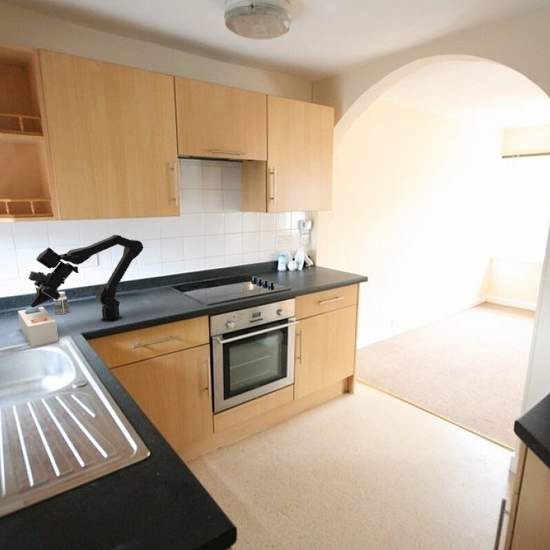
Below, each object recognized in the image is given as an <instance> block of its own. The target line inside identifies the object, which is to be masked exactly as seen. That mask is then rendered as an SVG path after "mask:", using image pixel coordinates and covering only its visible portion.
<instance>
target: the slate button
mask: <svg viewBox="0 0 550 550" xmlns="http://www.w3.org/2000/svg"><path fill="white" fill-rule="evenodd" d="M38 307H39V305H37V306H35V307H31V306H28V307H26V308H25V310H26V313H27V314H31V313H37V312H39V308H38Z"/></svg>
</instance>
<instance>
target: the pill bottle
mask: <svg viewBox="0 0 550 550" xmlns="http://www.w3.org/2000/svg"><path fill="white" fill-rule="evenodd" d="M58 292H59V293H60V297H59V298H58V300H56V299H54V298H53V305H54V311H55V312H54V313H55V314H56V315H64V313H65V314H67V313H69V312H70V310H69V302H68V297H67V296H66V292H65V291H58Z"/></svg>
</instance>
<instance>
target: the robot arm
mask: <svg viewBox="0 0 550 550" xmlns="http://www.w3.org/2000/svg"><path fill="white" fill-rule="evenodd" d="M117 245H119V246H121V247H124V248H123V254H122V257H121V258H120V260H119V262H118V263H117V265H116V267H115V268H114V270H113V272H112V274H111V275H110V277H109V278H108V280H107V282H106V283H105V284H104V285H103V284H99V286H98V289H97V290H96V291H95V293H96V294H95V299H96V301H97V302H99V303H100V304H101V313H102V314H101V315H102V318H101V321H104V322H105V321H107V322H115V321H117V320H118V319H121V318H122V317H123V315H120V303H121V302H120V301H119V300H118V299H116V297H115V296H116V293H117V288H118V286H119V284H120V282H121V281H122V279H123V278H124V275H125V274H126V271H127V270H128V268H129V267H130V265H131V263H132V262H133V260H135V259H136V258H137V257H138V256H139V255H140V254H141V252H142V251H143V249H144V244H143V243H142V241H140V240H137V239H129V238H126V237H124V236H121V235H120V234H119V235H118V234H113V235H111V236H109V237H107V238H105V239H102V240H99V241H97V242H95V243H92V244H90V245H87V246H84V247H78V248H74V249H73V248H72V249H69V250H68V251H67V252H66V253H62V254H58V253H57V252H55V251H54V250H53V249H52V248H51V247H47V248H46V249H45V250H43V251H41V252H40V253H39V255H38V256H37V257H36V259H35V261H36V262H38V263H40V264H41V265H43V266H44V267H46V268H47V269H53V271H51V272H48V273H44V272H41V271H38V272H37V271H30V273H29V275H28V280H29V281H31V282H34V283H33V285H34V286H35V292H36V293H35V296H34V298H33V300H32V302H31V303H30V307H35V306H40V305H41V304H43V303H45V302H47V301H49V300H52V299H53V300H54V299H56V300H58V298H59V297H60V293H59V292H60V291H59V290H58V289H59V288H60V287H61V286H62V285H65V283H66V282H65V281H66V279H68V277H69V276H70V275H72V273H73V272H74V273H75V274H79V267H78V266H79V265H81V264H83V263H85V262H86V261H87V260H89V259H90V258H91V257H93V256H94V255H97V254H99V253H100V252H103V251H106V250H108V249H110V248H112V247H115V246H117ZM72 264H73V265H72ZM76 265H77V266H76Z"/></svg>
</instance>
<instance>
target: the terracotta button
mask: <svg viewBox="0 0 550 550" xmlns="http://www.w3.org/2000/svg"><path fill="white" fill-rule="evenodd" d="M43 321H46V318H45V317H39V318H35V319H33V323H38V322H43Z"/></svg>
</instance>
